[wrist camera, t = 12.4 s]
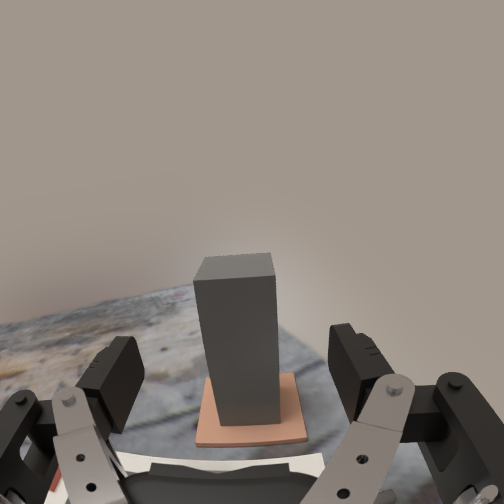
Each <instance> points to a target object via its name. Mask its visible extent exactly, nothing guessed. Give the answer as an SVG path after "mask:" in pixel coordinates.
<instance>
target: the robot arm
mask: <svg viewBox="0 0 504 504" xmlns="http://www.w3.org/2000/svg"><path fill="white" fill-rule="evenodd" d="M328 366H329V371H330V373H331V376H332V378H333V381H334V383H335V386H336V388H337V391H338V393H339V396H340V399H341V401H342V404H343V406H344V409H345V412H346V414H347V417H348V419H349V422H350V427H349V429H348V430H347V432H346V434H345V436H344V437H343V439H342V441H341V442H340V444H339V446H338V448H337V449H336V451H335V452H334V454H333V456H332V457H331V459H330V460H329V462H328V464H327V465H326V467H325V468H324V470H323V471H322V473H321V474H320V476H319V477H315V476H313V475H309V474H305V473H300V472H292V471H290V468H289V463H280V464H269V465H254V466H250V467H246V468H241V469H237V470H233V471H228V472H223V473H212V472H208V471H204V470H199V469H195V468H192V467H188V466H184V465H173V464H162V463H153V462H152V463H151V466H150V470H149V471H145V472H140V473H136V474H132V475H130V476H128V475H127V473H126V471H125V470H124V468H123V466H122V464H121V462H120V460H119V458H118V456H117V454H116V452H115V449H114V447H113V445H112V443H111V441H110V439H109V438H108V437H109V435H110V432H111V433H117V434H122V431H123V429H124V426H125V424H126V421H127V419H128V416H129V414H130V411H131V409H132V406H133V404H134V402H135V399H136V397H137V394H138V392H139V390H140V387H141V385H142V383H143V380H144V374H145V372H144V366H143V362H142V359H141V356H140V353H139V349H138V346H137V343H136V340H135V338H134V337H132V336H116V337H115V338H114V340H113V341H112V343H111V344H110V346H109V347H106V348H104V349H103V350H102V351H100V352H99V353H98V354H97V355H96V357H95V358H94V359H93V362H91V364H90V365H89V368H87V370H86V371H85V372H84V374H83V375H82V377H81V378H80V380H79V381H78V383H77V384H76V386H75V387H67V388H64V389H62V390H60V391H58V392H57V393H56V394H55V395H54V397H53V399H52V400H44V401H38V399H37V397H36V396H35V394H34V393H33V392H32V391H30V390H21V391H18V392H16V393H15V394H13V395H12V396H11V397H10V398H9V400H8V401H7V402H6V404H5V405H4V407H3V408H2V409H1V411H0V504H44V502H45V499H46V497H47V494H48V491H49V489H50V486H51V484H52V481H53V479H54V476H55V474H56V471H57V469H58V466H59V467H60V471H61V474H62V478H63V481H64V485H65V488H66V491H67V494H68V497H69V500H70V503H71V504H373V503H374V501H375V499H376V497H377V495H378V492H379V490H380V488H381V486H382V484H383V482H384V479H385V477H386V475H387V473H388V470H389V468H390V465H391V463H392V460H393V458H394V455H395V453H396V450H397V448H398V445H399V443H410V442H417V443H418V445H419V448H420V450H421V452H422V454H423V456H424V459H425V461H426V463H427V466H428V468H429V470H430V473H431V475H432V477H433V480H434V482H435V484H436V487H437V489H438V492H439V494H440V497H441V499H442V502H443V504H504V424H503V422H502V421H501V420H500V418H499V417H498V416H497V414H496V413H495V411H494V410H493V409H492V408H491V406H490V405H489V403H488V402H487V401H486V399H485V398H484V397H483V396H482V394H481V393H480V392H479V391H478V389H477V388H476V387H475V386H474V384H473V383H472V382H471V381H470V379H469V378H468V377H467V376H465V375H463V374H461V373H456V372H448V373H445V374H443V375H441V376H440V377H439V378H438V380H437V383H436V385H429V386H428V385H427V386H415V385H414V383H413V382H412V381H411V379H409V378H408V377H406V376H404V375H400V374H395V373H394V371H393V370H392V368H391V367H390V365H389V364H388V362H387V361H386V359H385V358H384V356H383V355H382V354H381V352H380V350H379V349H378V348H377V346H376V345H375V343H374V342H373V341H372V339H371V338H369V337H368V336H366V335H365V334H363V333H359V334H356V333H355V331H354V330H353V328H352V327H351V325H350V324H349V323H345V324H338V325H332V326H331V327H330V332H329V348H328ZM26 436H28V437H29V438H30V440H31V441H32V442H33V443H32V444H31V446H30V448H29V450H28V452H27V454H26V456H25V458H24V460H22V459H21V457H20V447H21V445H22V443H23V442H24V440H25V438H26Z"/></svg>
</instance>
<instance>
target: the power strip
mask: <svg viewBox="0 0 504 504" xmlns="http://www.w3.org/2000/svg"><path fill="white" fill-rule="evenodd" d="M115 452H116V454H117V456H118V458H119V460H120V462H121V464H122V466H123V468H124V470H125V471H126V473H127V475H128V476H130V475H132V474H136V473H140V472H145V471H149V470H150V466H151V463H152V462H153V463H162V464H173V465H184V466H188V467H192V468H195V469H199V470H204V471H208V472H212V473H223V472H228V471H233V470H237V469H241V468H246V467H250V466H254V465H269V464H280V463H289V468H290V471H292V472H300V473H305V474H309V475H313V476H315V477H319V476H320V474H321V473H322V471H323V470H324V468H325V466H324V462H323V457H322V453H317V454H310V455H303V456H295V457H286V458H276V459H263V460H243V461H202V460H182V459H169V458H159V457H150V456H142V455H135V454H129V453H123V452H117V451H115ZM395 502H396V497H395V493H394V491H393V490H392V489H390V490H387V491H384V492H380V493H378V495H377V497H376V499H375V501H374V503H373V504H395ZM44 504H71V503H70V500H69V497H68V494H67V491H66V488H65V485H64V481H63V478H62V474H61V471H60V467H59V466H58V469H57V471H56V474H55V476H54V479H53V481H52V484H51V486H50V489H49V491H48V494H47V497H46V499H45V502H44Z"/></svg>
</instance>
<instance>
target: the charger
mask: <svg viewBox="0 0 504 504" xmlns="http://www.w3.org/2000/svg"><path fill="white" fill-rule="evenodd" d="M193 283H194V290H195V296H196V303H197V309H198V315H199V321H200V327H201V333H202V338H203V344H204V349H205V354H206V360H207V365H208V370H209V375H210V380H211V385H212V390H213V394H214V399H215V404H216V408H217V413H218V417H219V421H220V426H254V425H271V424H281V416H280V377H279V347H278V321H277V298H276V278H275V271H274V267H273V263H272V258H271V253H257V254H243V255H229V256H215V257H205V258H204V260H203V262H202V264H201V266H200V268H199V270H198V272H197V274H196V276H195V278H194V280H193Z"/></svg>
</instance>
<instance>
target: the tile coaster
mask: <svg viewBox="0 0 504 504" xmlns="http://www.w3.org/2000/svg"><path fill="white" fill-rule="evenodd" d="M279 377H280V416H281V424H271V425H254V426H220V421H219V417H218V413H217V408H216V404H215V399H214V394H213V390H212V385H211V380H210V377H206V381H205V387H204V393H203V398H202V404H201V410H200V416H199V422H198V428H197V434H196V440H195V444H196V447H244V446H263V445H276V444H286V443H295V442H303V441H307V434H306V430H305V425H304V420H303V415H302V411H301V406H300V401H299V397H298V392H297V387H296V383H295V378H294V374H293V372H288V373H279Z"/></svg>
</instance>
